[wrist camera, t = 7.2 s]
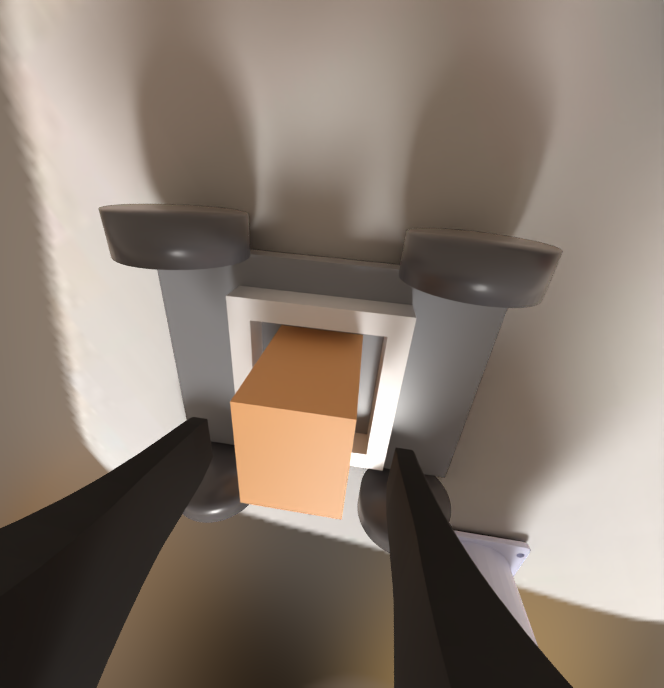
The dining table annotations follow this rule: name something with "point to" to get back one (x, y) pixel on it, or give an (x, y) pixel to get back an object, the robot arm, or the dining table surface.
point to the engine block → (298, 421)
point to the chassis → (332, 315)
